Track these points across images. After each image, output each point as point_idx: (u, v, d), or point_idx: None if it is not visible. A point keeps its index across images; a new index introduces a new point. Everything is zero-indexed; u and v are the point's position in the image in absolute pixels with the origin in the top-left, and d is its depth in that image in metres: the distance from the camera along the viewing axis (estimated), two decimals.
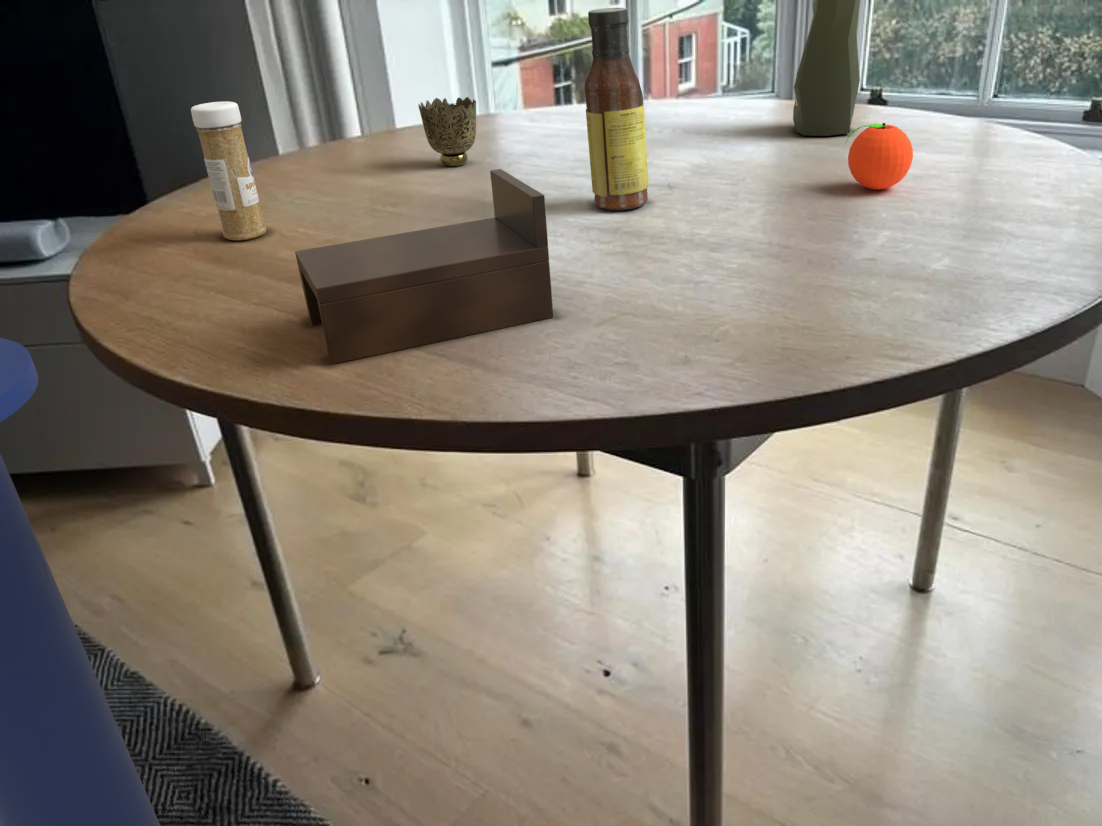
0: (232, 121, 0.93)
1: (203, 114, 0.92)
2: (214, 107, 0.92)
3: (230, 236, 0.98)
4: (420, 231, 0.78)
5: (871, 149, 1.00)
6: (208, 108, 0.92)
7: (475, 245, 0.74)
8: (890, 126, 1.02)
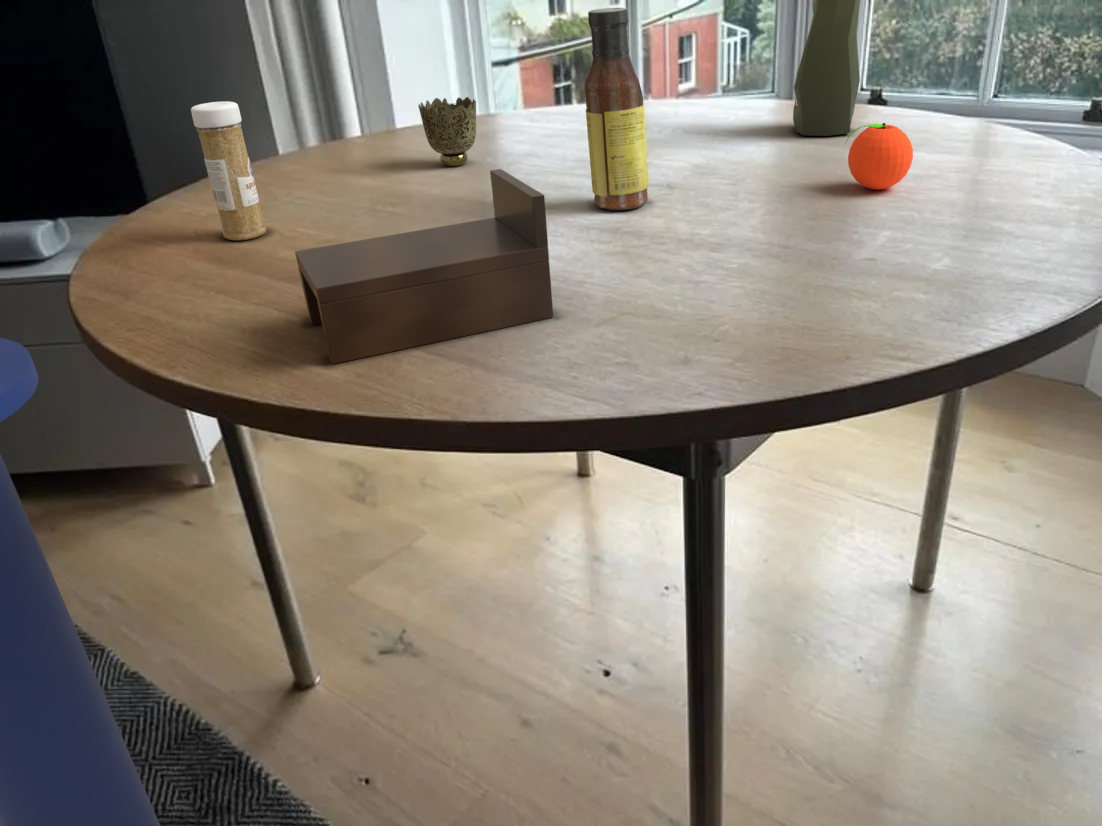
0: (232, 121, 0.93)
1: (203, 114, 0.92)
2: (214, 107, 0.92)
3: (230, 236, 0.98)
4: (420, 231, 0.78)
5: (871, 149, 1.00)
6: (208, 108, 0.92)
7: (475, 245, 0.74)
8: (890, 126, 1.02)
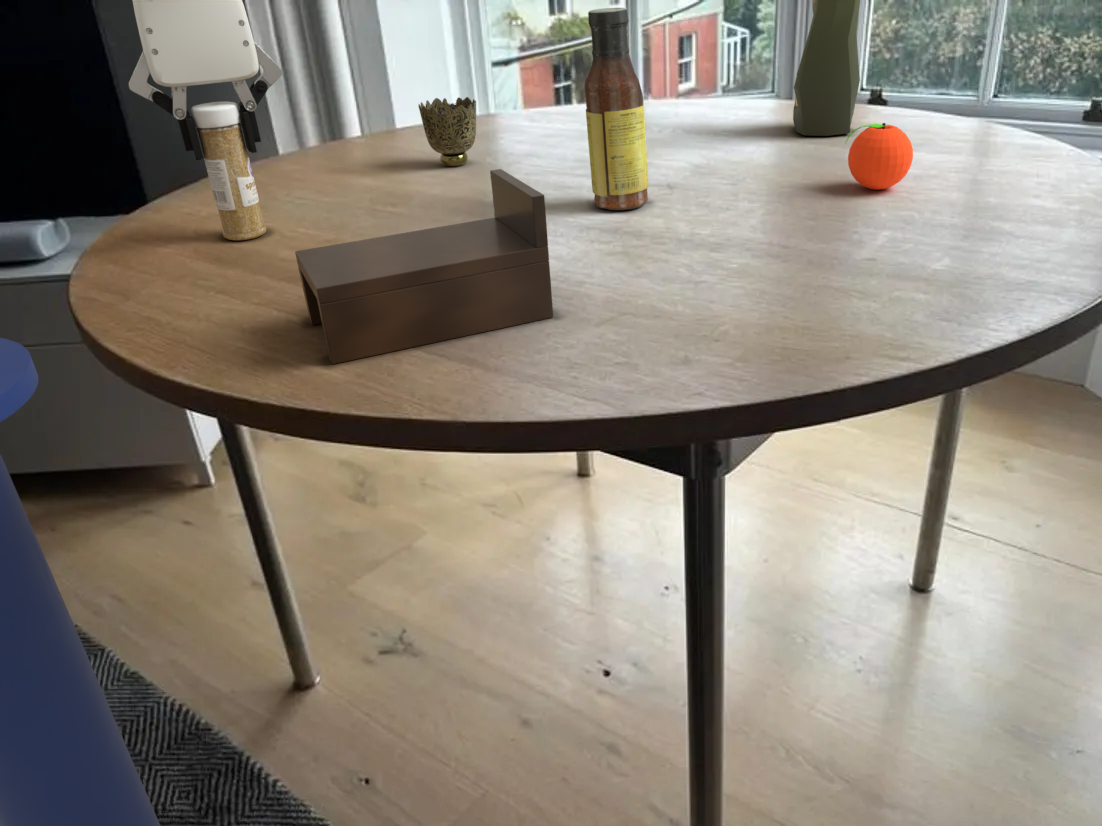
0: (232, 121, 0.93)
1: (203, 114, 0.92)
2: (214, 107, 0.92)
3: (230, 236, 0.98)
4: (420, 231, 0.78)
5: (871, 149, 1.00)
6: (208, 108, 0.92)
7: (475, 245, 0.74)
8: (890, 126, 1.02)
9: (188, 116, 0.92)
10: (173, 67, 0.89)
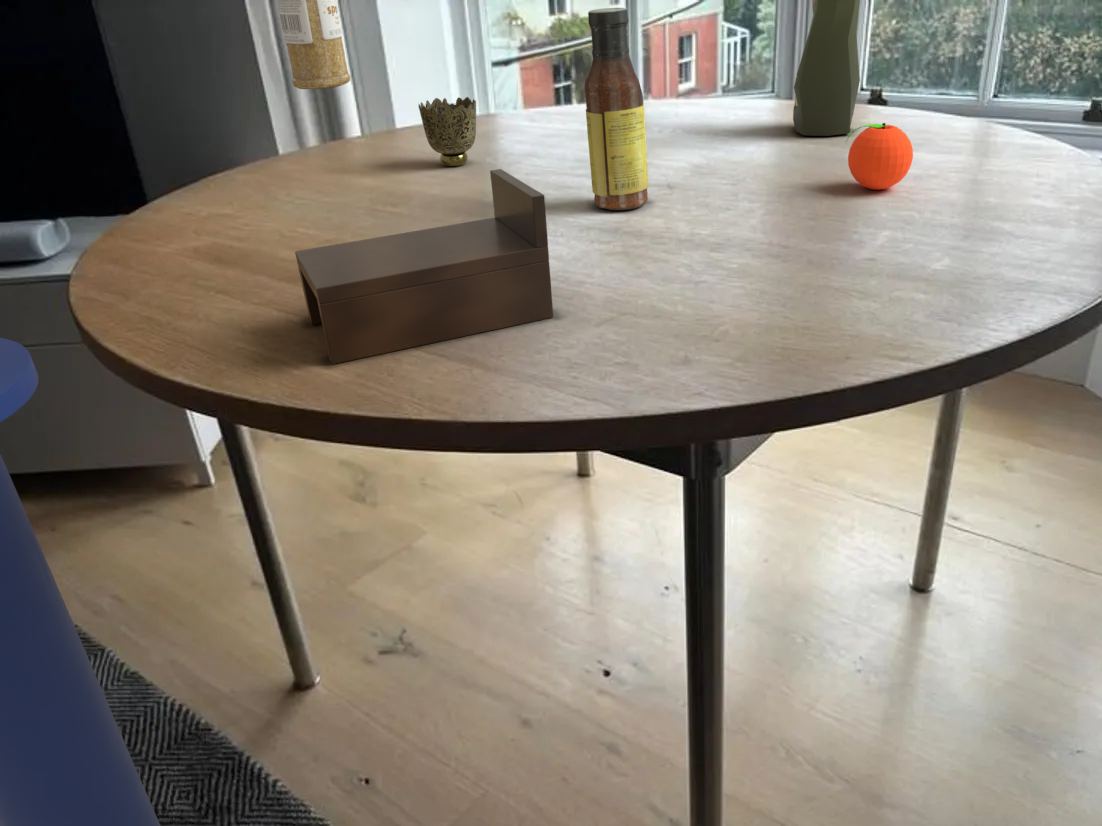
0: None
1: None
2: None
3: (304, 83, 0.71)
4: (420, 231, 0.78)
5: (871, 149, 1.00)
6: None
7: (475, 245, 0.74)
8: (890, 126, 1.02)
9: None
10: None
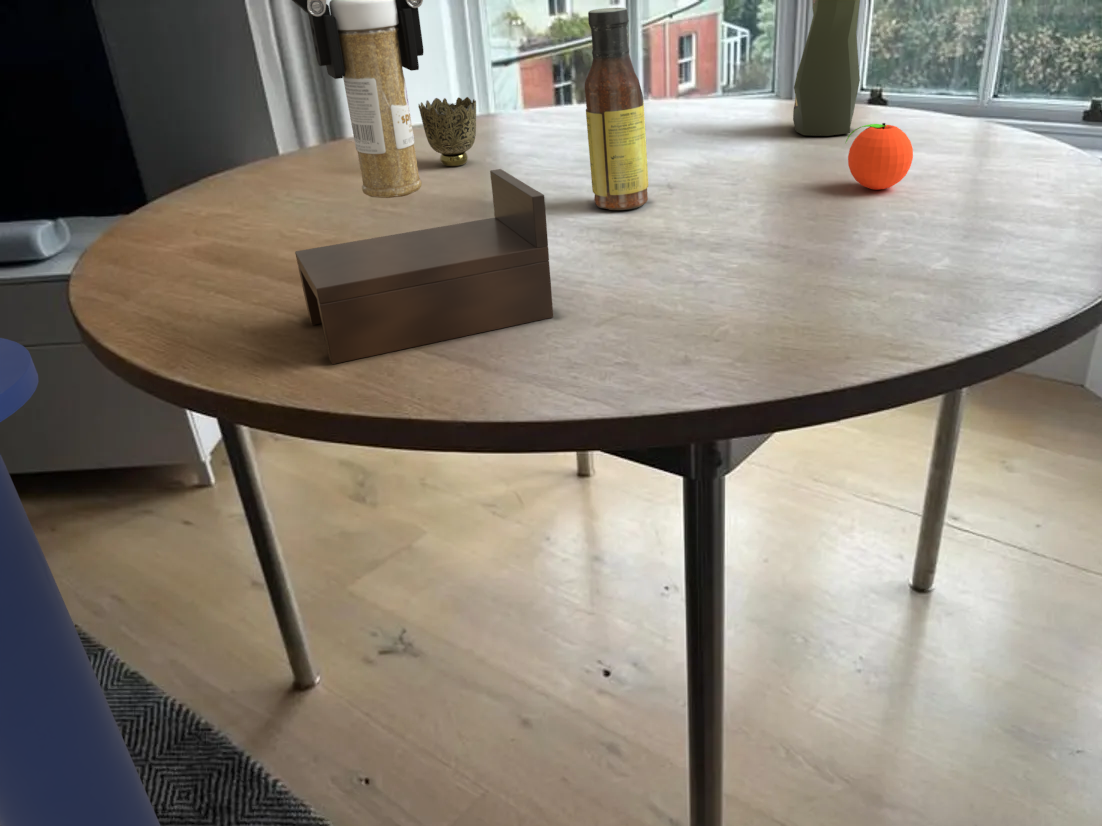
0: (389, 21, 0.64)
1: (350, 8, 0.62)
2: None
3: (375, 192, 0.69)
4: (420, 231, 0.78)
5: (871, 149, 1.00)
6: None
7: (475, 245, 0.74)
8: (890, 126, 1.02)
9: (327, 12, 0.63)
10: None
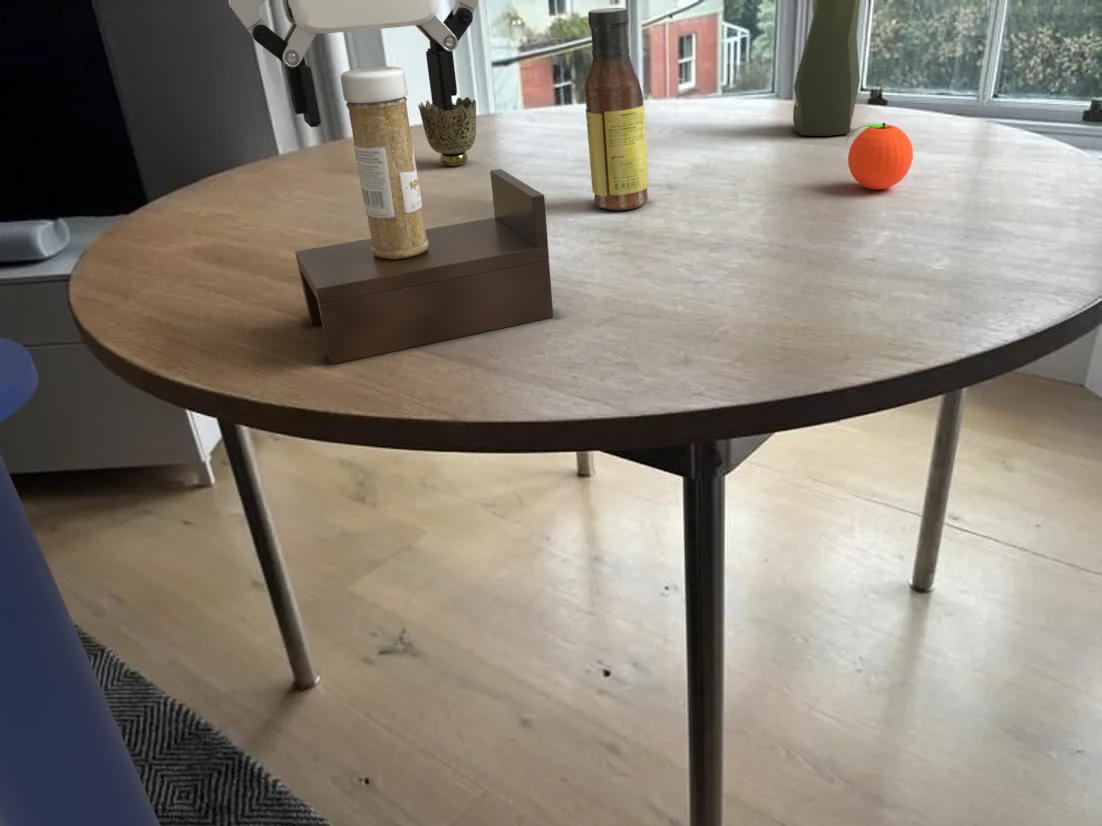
0: (398, 94, 0.66)
1: (361, 82, 0.65)
2: (376, 73, 0.65)
3: (384, 253, 0.71)
4: None
5: (871, 149, 1.00)
6: (368, 74, 0.65)
7: (475, 245, 0.74)
8: (890, 126, 1.02)
9: (303, 63, 0.64)
10: (324, 4, 0.62)
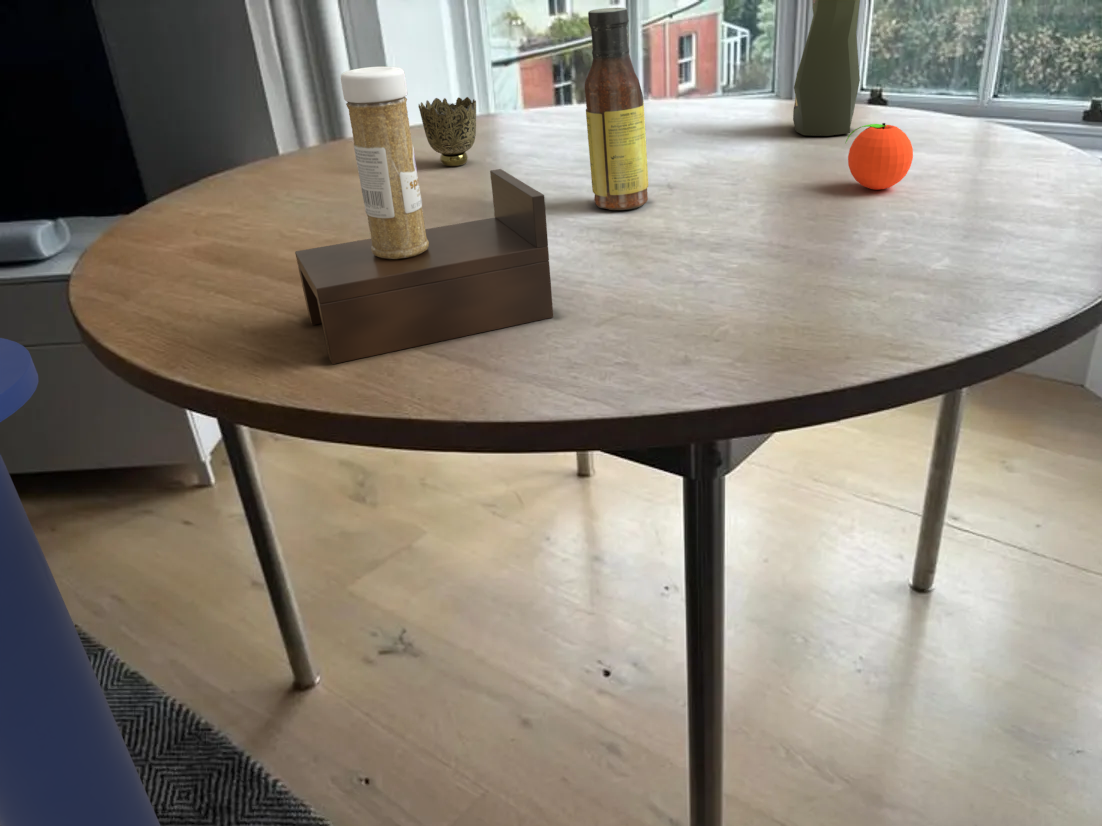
0: (398, 94, 0.66)
1: (361, 82, 0.65)
2: (376, 73, 0.65)
3: (384, 253, 0.71)
4: None
5: (871, 149, 1.00)
6: (368, 74, 0.65)
7: (475, 245, 0.74)
8: (890, 126, 1.02)
9: None
10: None
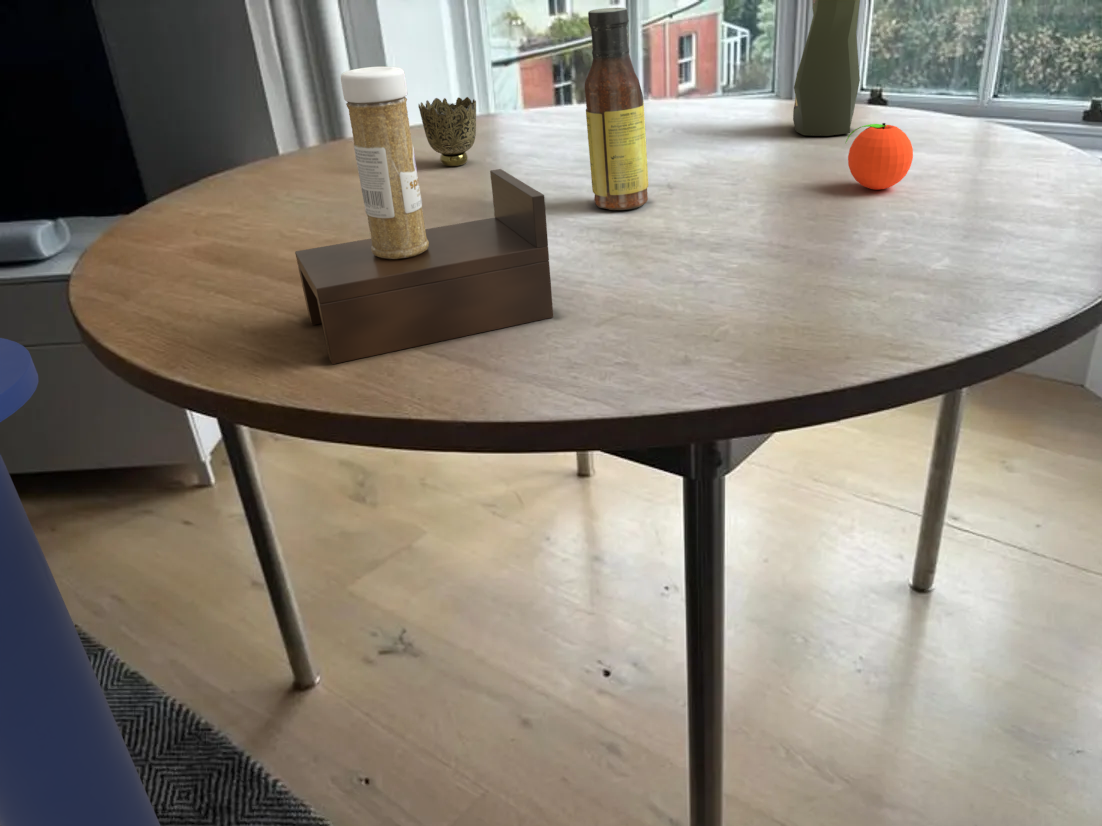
0: (398, 94, 0.66)
1: (361, 82, 0.65)
2: (376, 73, 0.65)
3: (384, 253, 0.71)
4: None
5: (871, 149, 1.00)
6: (368, 74, 0.65)
7: (475, 245, 0.74)
8: (890, 126, 1.02)
9: None
10: None
